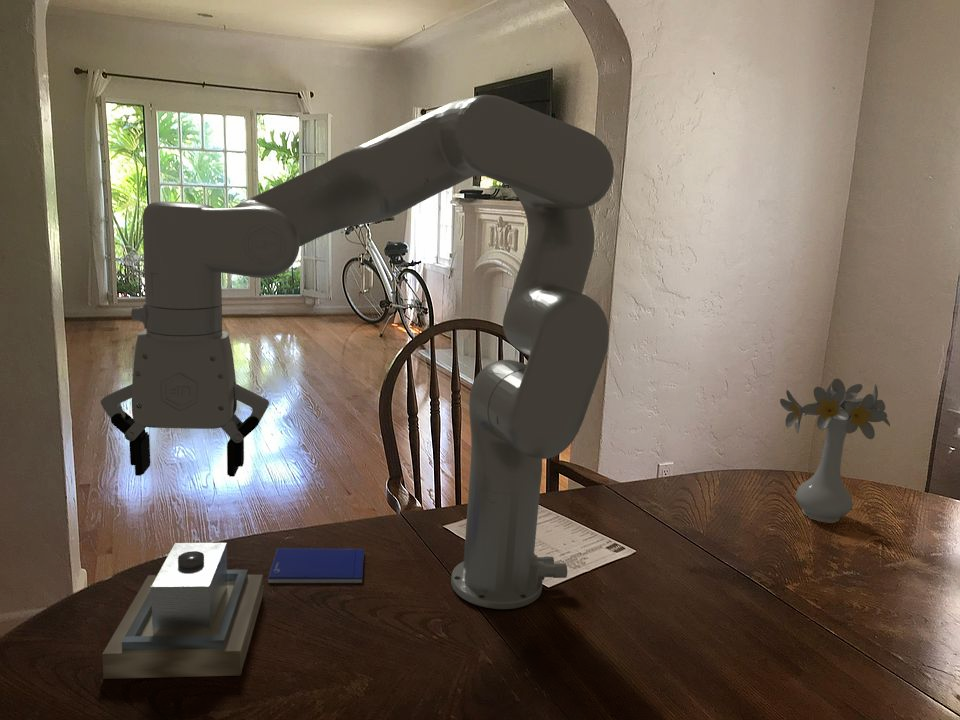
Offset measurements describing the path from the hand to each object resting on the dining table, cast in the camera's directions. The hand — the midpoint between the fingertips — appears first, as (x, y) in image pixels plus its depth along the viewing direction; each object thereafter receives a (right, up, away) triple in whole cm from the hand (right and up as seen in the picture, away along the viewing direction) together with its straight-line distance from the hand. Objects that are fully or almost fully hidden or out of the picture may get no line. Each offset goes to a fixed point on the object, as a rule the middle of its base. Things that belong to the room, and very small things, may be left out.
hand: (188, 471), depth 82 cm
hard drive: (+10, -17, +21) cm, 29 cm away
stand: (-1, -20, +5) cm, 20 cm away
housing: (-1, -17, +4) cm, 17 cm away
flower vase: (+93, -16, +50) cm, 107 cm away
